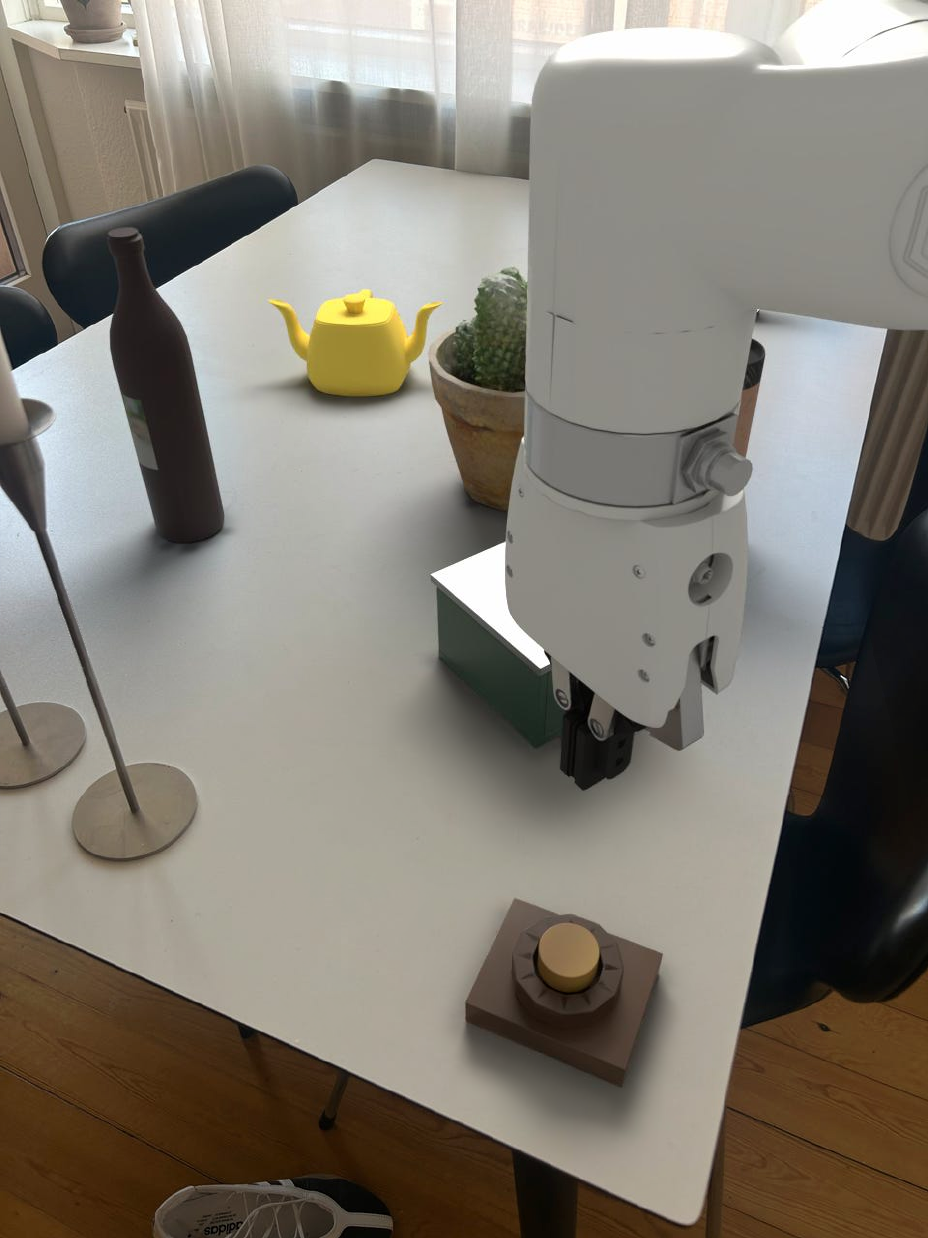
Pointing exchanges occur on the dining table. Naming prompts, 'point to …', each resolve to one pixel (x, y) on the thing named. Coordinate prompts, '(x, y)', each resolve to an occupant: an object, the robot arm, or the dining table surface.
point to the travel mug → (749, 397)
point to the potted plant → (485, 387)
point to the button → (568, 957)
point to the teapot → (357, 344)
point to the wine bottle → (162, 400)
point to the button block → (565, 995)
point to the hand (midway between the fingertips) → (595, 767)
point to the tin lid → (490, 602)
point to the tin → (498, 674)
